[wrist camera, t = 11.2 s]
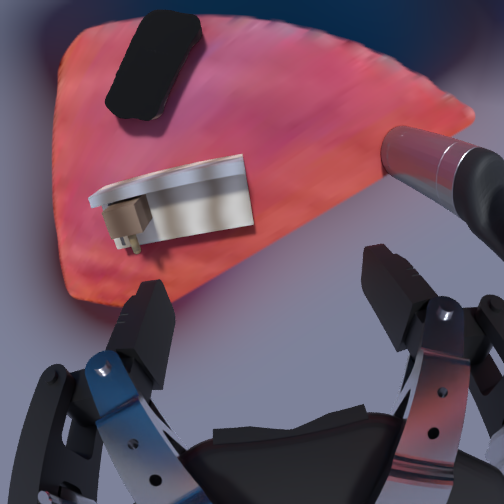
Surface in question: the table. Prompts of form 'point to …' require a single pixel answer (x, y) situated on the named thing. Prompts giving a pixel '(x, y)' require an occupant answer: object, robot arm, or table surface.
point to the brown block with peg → (128, 219)
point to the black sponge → (152, 64)
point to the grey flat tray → (186, 199)
